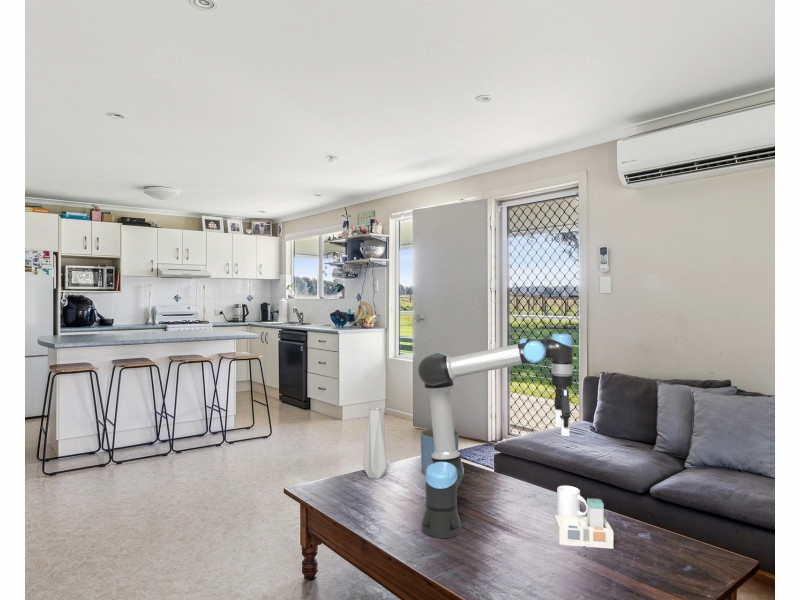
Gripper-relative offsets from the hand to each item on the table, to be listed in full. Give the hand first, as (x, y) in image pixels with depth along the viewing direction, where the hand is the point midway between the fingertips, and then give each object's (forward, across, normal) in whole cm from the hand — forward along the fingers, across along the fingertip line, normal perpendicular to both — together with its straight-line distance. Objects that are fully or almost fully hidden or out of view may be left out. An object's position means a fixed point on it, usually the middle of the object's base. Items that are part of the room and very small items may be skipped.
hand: (561, 431), depth 189 cm
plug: (+35, -8, -10) cm, 37 cm away
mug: (+37, +11, -6) cm, 39 cm away
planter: (+37, +56, +50) cm, 84 cm away
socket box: (+37, -8, -6) cm, 38 cm away
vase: (+37, +45, +80) cm, 99 cm away
